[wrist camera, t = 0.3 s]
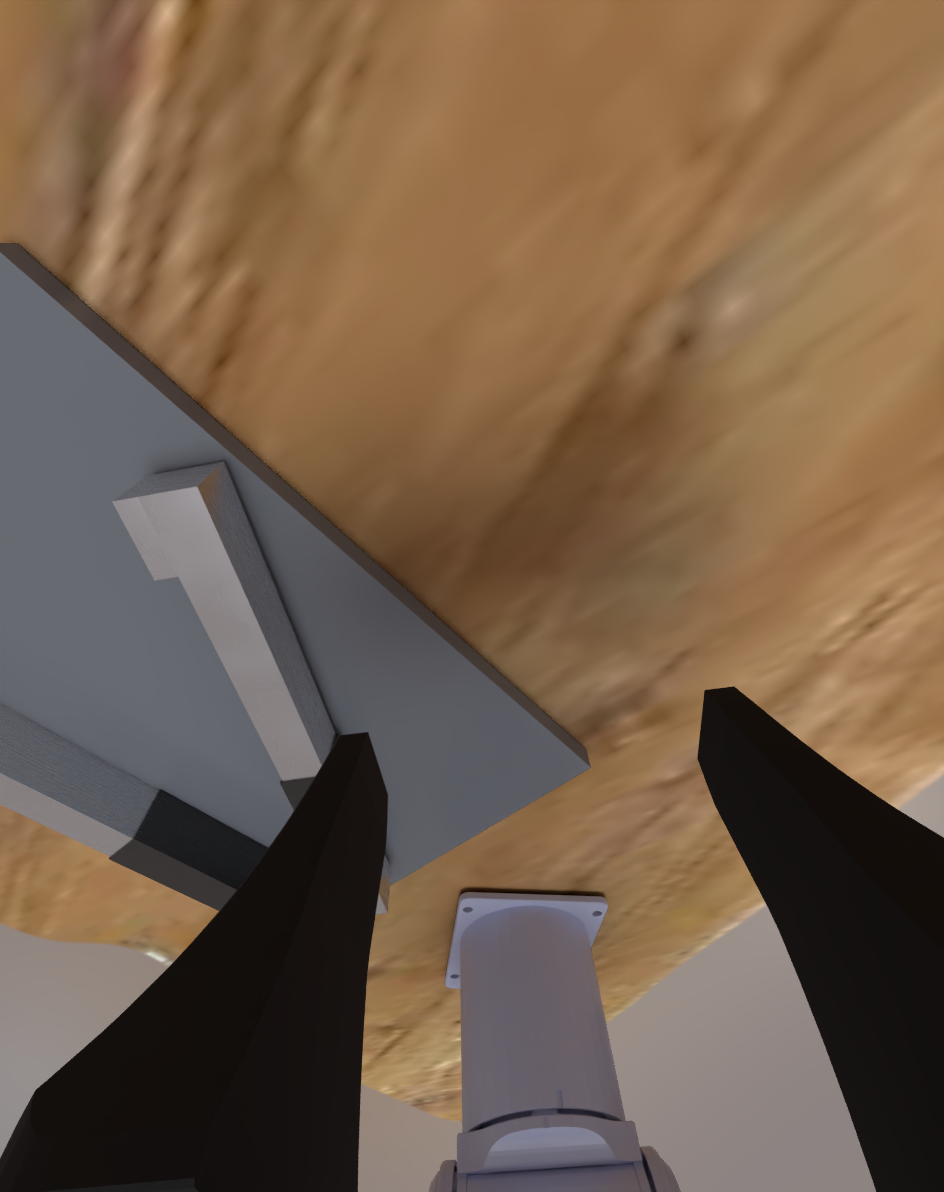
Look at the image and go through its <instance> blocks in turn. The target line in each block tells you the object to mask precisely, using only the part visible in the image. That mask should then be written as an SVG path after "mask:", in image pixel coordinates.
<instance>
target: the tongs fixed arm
mask: <svg viewBox="0 0 944 1192" xmlns="http://www.w3.org/2000/svg"><path fill="white" fill-rule="evenodd" d="M0 805H2V806H5V807H7V808H9V809H11V810H13V811H15V812H17V813H19V814H21V815H24V816H26V817H28V818H30V819H32V820H34V821H36V822H38V823H40V824H43V825H45V826H47V827H49V828H51V829H53V830H55V831H57V832H60V833H62V834H64V835H66V836H68V837H70V838H72V839H74V840H76V841H79V842H81V843H83V844H85V845H87V846H89V847H91V848H93V849H95V850H98V851H100V852H102V853H104V854H106V855H108V856H110V857H109V859H110V860H112V861H114V862H116V863H118V864H120V865H123V866H125V867H127V868H129V869H131V870H133V871H135V872H137V873H140V874H142V875H144V876H146V877H148V878H150V879H152V880H154V881H157V882H159V883H161V884H163V885H165V886H167V887H169V888H171V889H174V890H176V891H178V892H180V893H182V894H184V895H186V896H188V897H191V898H193V899H195V900H197V901H199V902H201V903H203V904H205V905H208V906H210V907H212V908H214V909H216V910H218V911H220V910H221V909H222V908H223V906H224V905H225V904H226V903H227V902H228V900H229V899H230V898H231V897H232V895H233V894H234V893H235V892H236V891H237V889H238V888H239V887H240V885H241V884H242V883H243V882H244V880H245V879H246V878H247V876H248V875H249V874H250V873H251V871H252V870H253V869H254V867H255V866H256V865H257V863H258V862H259V861H260V859H261V858H262V856H263V855H264V853H265V852H266V851H267V849H268V847H266V846H264V845H263V844H261V843H259V842H257V841H255V840H253V839H252V838H250V837H248V836H246V835H244V834H242V833H241V832H239V831H237V830H235V829H233V828H232V827H230V826H228V825H226V824H224V823H222V822H221V821H219V820H217V819H215V818H213V817H211V816H210V815H208V814H206V813H204V812H202V811H201V810H199V809H197V808H195V807H193V806H191V805H190V804H188V803H186V802H184V801H182V800H180V799H179V798H177V797H175V796H173V795H171V794H169V793H168V792H166V791H164V790H162V789H160V790H159V789H157V788H155V787H153V786H151V785H150V784H148V783H146V782H144V781H142V780H140V779H139V778H137V777H135V776H133V775H131V774H129V773H128V772H126V771H124V770H122V769H120V768H118V767H117V766H115V765H113V764H111V763H109V762H108V761H106V760H104V759H102V758H100V757H98V756H97V755H95V754H93V753H91V752H89V751H87V750H86V749H84V748H82V747H80V746H78V745H76V744H75V743H73V742H71V741H69V740H67V739H65V738H64V737H62V736H60V735H58V734H56V733H54V732H53V731H51V730H49V729H47V728H45V727H43V726H42V725H40V724H38V723H36V722H34V721H32V720H31V719H29V718H27V717H25V716H23V715H21V714H20V713H18V712H16V711H14V710H12V709H10V708H9V707H7V706H5V705H3V704H1V703H0Z"/></svg>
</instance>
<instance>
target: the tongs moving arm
mask: <svg viewBox="0 0 944 1192" xmlns="http://www.w3.org/2000/svg"><path fill="white" fill-rule="evenodd" d="M112 503H113V504H114V506H115V508H116V510H117V512H118V514H119V516H120V517H121V519H122V521H123V523H124V525H125V527H126V529H127V530H128V532H129V534H130V536H131V538H132V540H133V542H134V543H135V545H136V547H137V549H138V551H139V553H140V555H141V556H142V558H143V560H144V562H145V564H146V566H147V568H148V570H149V571H150V573H151V575H152V577H153V579H154V581H156V580H162V579H168V578H174V577H179V579H180V581H181V583H182V585H183V587H184V589H185V591H186V593H187V595H188V597H189V599H190V601H191V603H192V604H193V606H194V608H195V610H196V612H197V614H198V616H199V618H200V620H201V622H202V624H203V626H204V628H205V630H206V632H207V634H208V636H209V638H210V640H211V642H212V644H213V646H214V648H215V650H216V652H217V654H218V655H219V657H220V659H221V661H222V663H223V665H224V667H225V669H226V671H227V673H228V675H229V677H230V679H231V681H232V683H233V685H234V687H235V689H236V691H237V693H238V695H239V697H240V699H241V701H242V703H243V705H244V706H245V708H246V710H247V712H248V714H249V716H250V718H251V720H252V722H253V724H254V726H255V728H256V730H257V732H258V734H259V736H260V738H261V740H262V742H263V744H264V746H265V748H266V750H267V752H268V754H269V756H270V757H271V759H272V761H273V763H274V765H275V767H276V769H277V771H278V773H279V775H280V777H281V781H280V785H281V786H282V788H283V790H284V792H285V794H286V796H287V798H288V800H289V802H290V804H291V806H292V808H293V810H295V808H296V807H297V805H298V803H299V802H300V800H301V799H302V797H303V796H304V794H305V793H306V791H307V789H308V788H309V786H310V784H311V783H312V781H313V779H314V778H315V776H316V774H317V773H318V771H319V769H320V768H321V766H322V764H323V763H324V761H325V759H326V757H327V756H328V754H329V752H330V751H331V749H332V747H333V745H334V744H335V742H336V740H337V739H338V738H339V733H337V734H335V731H334V729H333V727H332V724H331V722H330V719H329V717H328V714H327V712H326V709H325V707H324V705H323V702H322V700H321V697H320V695H319V692H318V690H317V688H316V685H315V683H314V680H313V678H312V675H311V673H310V670H309V668H308V666H307V663H306V661H305V658H304V656H303V653H302V651H301V648H300V646H299V644H298V641H297V639H296V636H295V634H294V631H293V629H292V627H291V624H290V622H289V619H288V617H287V614H286V612H285V609H284V607H283V605H282V602H281V600H280V597H279V595H278V592H277V590H276V588H275V585H274V583H273V580H272V578H271V575H270V573H269V570H268V568H267V566H266V563H265V561H264V558H263V556H262V553H261V551H260V548H259V546H258V544H257V541H256V539H255V536H254V534H253V531H252V529H251V527H250V524H249V522H248V519H247V517H246V514H245V512H244V509H243V507H242V505H241V502H240V500H239V497H238V495H237V492H236V490H235V488H234V485H233V483H232V480H231V478H230V475H229V473H228V470H227V468H226V466H225V463H224V462H219V463H214V464H208V465H202V466H197V467H191V468H186V469H180V470H175V471H169V472H164V473H158V474H152V475H147V476H146V477H145V478H143V479H142V480H141V481H139V482H138V483H136V484H135V485H134V486H132V487H131V488H130V489H128V490H127V491H126V492H124V493H123V494H122V495H120V496H119V497H117V498H116V499H115V500H113V501H112ZM391 871H392V870H391V868H390V866H389V863H388V861H387V858H386V856H384V862H383V869H382V876H381V882H380V889H379V895H378V901H377V908H376V914H384V913H388V902H389V892H390V881H391ZM376 914H375V915H376Z"/></svg>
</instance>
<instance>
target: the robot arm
mask: <svg viewBox="0 0 944 1192" xmlns="http://www.w3.org/2000/svg"><path fill="white" fill-rule="evenodd" d="M698 761H699V764H700V767H701V769H702V772H703V775H704V778H705V780H706V783H707V786H708V788H709V791H710V793H711V796H712V799H713V801H714V804H715V806H716V808H717V810H718V812H719V814H720V816H721V818H722V820H723V822H724V824H725V825H726V827H727V829H728V831H729V833H730V835H731V837H732V839H733V841H734V843H735V845H736V847H737V849H738V851H739V853H740V854H741V856H742V858H743V860H744V862H745V864H746V866H747V868H748V870H749V872H750V874H751V876H752V877H753V879H754V881H755V883H756V885H757V887H758V889H759V891H760V893H761V895H762V897H763V899H764V901H765V902H766V904H767V906H768V908H769V910H770V913H771V914H772V917H773V918H774V921H775V923H776V925H777V927H778V929H779V932H780V934H781V936H782V939H783V941H784V944H785V946H786V948H787V951H788V953H789V955H790V958H791V961H792V963H793V966H794V968H795V970H796V973H797V975H798V978H799V980H800V982H801V985H802V988H803V990H804V993H805V995H806V998H807V1001H808V1003H809V1006H810V1008H811V1011H812V1013H813V1016H814V1018H815V1021H816V1024H817V1026H818V1029H819V1031H820V1034H821V1037H822V1039H823V1042H824V1044H825V1047H826V1050H827V1053H828V1055H829V1058H830V1061H831V1064H832V1066H833V1069H834V1072H835V1074H836V1077H837V1080H838V1083H839V1085H840V1088H841V1091H842V1093H843V1096H844V1099H845V1102H846V1104H847V1107H848V1110H849V1113H850V1116H851V1119H852V1121H853V1124H854V1127H855V1130H856V1133H857V1136H858V1139H859V1142H860V1145H861V1148H862V1151H863V1154H864V1156H865V1159H866V1162H867V1165H868V1168H869V1171H870V1174H871V1177H872V1180H873V1183H874V1186H875V1188H876V1192H944V838H943V837H942V836H940V835H938V834H937V833H935V832H933V831H932V830H930V829H928V828H927V827H925V826H924V825H922V824H920V823H919V822H917V821H915V820H914V819H912V818H910V817H909V816H907V815H906V814H904V813H902V812H901V811H899V810H898V809H896V808H894V807H893V806H891V805H890V804H888V803H887V802H885V801H884V800H882V799H881V798H879V797H878V796H876V795H875V794H873V793H872V792H870V791H869V790H868V789H866V788H865V787H863V786H862V785H860V784H859V783H857V782H856V781H855V780H853V779H852V778H850V777H849V776H847V775H846V774H845V773H843V772H842V771H840V770H839V769H838V768H836V767H835V766H834V765H832V764H831V763H830V762H828V761H827V760H826V759H824V758H823V757H822V756H820V755H819V754H818V753H816V752H815V751H814V750H813V749H811V748H810V747H809V746H807V745H806V744H805V743H803V742H802V741H801V740H800V739H798V738H797V737H796V736H794V735H793V734H792V733H791V732H789V731H788V730H787V729H786V728H784V727H783V726H782V725H781V724H780V723H778V722H777V721H776V720H775V719H773V718H772V717H771V716H770V715H768V714H767V713H766V712H765V711H764V710H762V709H761V708H760V707H759V706H757V705H756V704H755V703H754V702H753V701H751V700H750V699H749V698H748V697H746V696H745V695H744V694H743V693H741V692H740V691H739V690H738V689H736V688H735V687H727V688H719V689H711V690H705V692H704V702H703V711H702V721H701V730H700V740H699V749H698ZM387 820H388V793H387V790H386V787H385V783H384V780H383V777H382V774H381V771H380V768H379V765H378V761H377V758H376V755H375V752H374V749H373V746H372V743H371V739H370V736H369V733H368V732H363V733H355V734H347V735H340V736H339V738H338V739H337V740H336V742H335V744H334V745H333V747H332V749H331V751H330V752H329V754H328V756H327V757H326V759H325V761H324V763H323V764H322V766H321V768H320V769H319V771H318V773H317V774H316V776H315V778H314V779H313V781H312V783H311V784H310V786H309V788H308V789H307V791H306V793H305V794H304V796H303V797H302V799H301V800H300V802H299V803H298V805H297V807H296V808H295V810H294V811H293V813H292V814H291V816H290V817H289V819H288V821H287V822H286V824H285V825H284V827H283V828H282V829H281V831H280V832H279V834H278V835H277V837H276V838H275V839H274V841H273V842H272V844H271V845H270V846H269V848H268V849H267V851H266V852H265V853H264V855H263V856H262V858H261V859H260V861H259V862H258V863H257V865H256V866H255V867H254V869H253V870H252V871H251V873H250V874H249V875H248V876H247V878H246V879H245V880H244V882H243V883H242V884H241V885H240V887H239V888H238V889H237V891H236V892H235V893H234V894H233V895H232V897H231V898H230V899H229V900H228V902H227V903H226V904H225V905H224V906H223V908H222V909H221V910H220V911H219V912H218V914H217V915H216V916H215V917H214V918H213V919H212V920H211V921H210V923H209V924H208V925H207V926H206V927H205V928H204V929H203V931H202V932H201V933H200V934H199V935H198V936H197V937H196V938H195V940H194V941H193V942H192V943H191V944H190V945H189V946H188V947H187V948H186V950H185V951H184V952H183V953H182V954H181V955H180V956H179V957H178V958H177V959H176V960H175V961H174V962H173V963H172V964H171V966H170V967H169V968H168V969H167V970H166V971H165V972H164V973H163V974H162V975H161V976H160V977H159V978H158V979H157V980H156V981H154V983H152V984H151V985H150V987H149V988H147V989H146V991H144V993H142V994H141V995H140V997H138V998H137V999H136V1000H135V1001H134V1002H133V1003H132V1004H131V1006H129V1007H128V1008H127V1009H126V1010H125V1011H124V1012H123V1013H122V1014H121V1015H120V1016H119V1017H118V1018H117V1019H116V1020H115V1021H114V1022H113V1023H111V1025H109V1026H108V1027H107V1028H106V1029H105V1030H104V1031H103V1032H102V1033H101V1034H99V1035H98V1036H97V1037H96V1038H95V1039H94V1040H93V1041H92V1042H90V1043H89V1044H88V1045H87V1046H86V1047H85V1048H84V1049H82V1050H81V1051H80V1052H79V1053H78V1054H77V1055H76V1056H74V1057H73V1058H72V1059H71V1060H70V1061H69V1062H68V1063H66V1064H65V1065H64V1066H63V1067H62V1068H61V1069H60V1070H59V1071H57V1072H56V1073H55V1074H54V1075H53V1076H52V1077H51V1078H49V1079H48V1080H47V1081H46V1082H45V1083H43V1084H42V1085H41V1086H40V1087H39V1088H37V1089H36V1091H35V1092H34V1094H33V1096H32V1098H31V1099H30V1101H29V1103H28V1105H27V1107H26V1109H25V1111H24V1112H23V1114H22V1116H21V1118H20V1120H19V1122H18V1124H17V1125H16V1127H15V1129H14V1131H13V1134H12V1136H11V1138H10V1140H9V1142H8V1144H7V1146H6V1148H5V1150H4V1152H3V1154H2V1156H1V1158H0V1192H358V1149H359V1120H360V1092H361V1070H362V1051H363V1031H364V1015H365V999H366V984H367V971H368V963H369V954H370V947H371V940H372V934H373V927H374V921H375V914H376V908H377V901H378V895H379V889H380V882H381V876H382V869H383V862H384V856H385V849H386V841H387ZM607 909H608V903H607V900H606V899H605V898H604V897H600V896H572V895H542V894H512V893H482V892H466V893H463V894H462V895H460V897H459V901H458V907H457V913H456V918H455V924H454V930H453V936H452V941H451V947H450V953H449V958H448V964H447V970H446V975H445V985H446V986H447V987H448V988H453V989H460V991H461V1062H462V1125H463V1126H462V1127H463V1129H462V1131H463V1132H462V1133H458V1135H457V1161H456V1160H446V1161H443V1163H442V1164H441V1167H440V1171H438V1173H437V1174H436V1176H435V1177H434V1179H433V1180H432V1182H431V1185H430V1188H429V1192H681V1191H680V1189H679V1186H678V1183H677V1181H676V1178H675V1176H674V1174H673V1172H672V1170H671V1169H670V1167H669V1166H668V1165H667V1164H666V1163H665V1162H664V1160H663V1159H661V1158H660V1156H659V1155H658V1153H657V1152H656V1150H655V1149H654V1148H653V1147H651V1146H645V1147H640V1146H639V1142H638V1137H637V1132H636V1127H635V1123H634V1122H633V1121H626V1120H625V1115H624V1110H623V1105H622V1100H621V1095H620V1090H619V1085H618V1080H617V1076H616V1071H615V1065H614V1060H613V1055H612V1051H611V1046H610V1041H609V1036H608V1031H607V1026H606V1021H605V1016H604V1011H603V1006H602V1001H601V996H600V991H599V986H598V981H597V976H596V971H595V966H594V962H593V957H592V952H591V947H592V945H593V942H594V940H595V938H596V935H597V933H598V931H599V928H600V926H601V923H602V921H603V919H604V916H605V914H606V911H607Z"/></svg>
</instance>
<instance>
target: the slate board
mask: <svg viewBox="0 0 944 1192" xmlns="http://www.w3.org/2000/svg"><path fill="white" fill-rule="evenodd" d="M219 462H224V463H225V466H226V468H227V470H228V473H229V475H230V478H231V480H232V483H233V485H234V488H235V490H236V492H237V495H238V497H239V500H240V502H241V505H242V507H243V509H244V512H245V514H246V517H247V519H248V522H249V524H250V527H251V529H252V531H253V534H254V536H255V539H256V541H257V544H258V546H259V548H260V551H261V553H262V556H263V558H264V561H265V563H266V566H267V568H268V570H269V573H270V575H271V578H272V580H273V583H274V585H275V588H276V590H277V592H278V595H279V597H280V600H281V602H282V605H283V607H284V609H285V612H286V614H287V617H288V619H289V622H290V624H291V627H292V629H293V631H294V634H295V636H296V639H297V641H298V644H299V646H300V648H301V651H302V653H303V656H304V658H305V661H306V663H307V666H308V668H309V670H310V673H311V675H312V678H313V680H314V683H315V685H316V688H317V690H318V692H319V695H320V697H321V700H322V702H323V705H324V707H325V709H326V712H327V714H328V717H329V719H330V722H331V724H332V727H333V729H334V731H335V734H337V733H339V736H340V735H347V734H355V733H363V732H368V733H369V736H370V739H371V743H372V746H373V749H374V752H375V755H376V758H377V761H378V765H379V768H380V771H381V774H382V777H383V780H384V783H385V787H386V790H387V793H388V820H387V841H386V849H385V856H386V858H387V861H388V863H389V866H390V868H391V870H392V871H391V881H390V885H392V884H394V883H395V882H397V881H399V880H400V879H402V878H404V877H406V876H407V875H409V874H411V873H412V872H414V871H416V870H417V869H419V868H421V867H423V866H424V865H426V864H428V863H429V862H431V861H433V860H434V859H436V858H438V857H440V856H441V855H443V854H445V853H446V852H448V851H450V850H451V849H453V848H455V847H457V846H458V845H460V844H462V843H463V842H465V841H467V840H469V839H470V838H472V837H474V836H475V835H477V834H479V833H480V832H482V831H484V830H486V829H487V828H489V827H491V826H492V825H494V824H496V823H497V822H499V821H501V820H503V819H504V818H506V817H508V816H509V815H511V814H513V813H514V812H516V811H518V810H520V809H521V808H523V807H525V806H526V805H528V804H530V803H531V802H533V801H535V800H537V799H538V798H540V797H542V796H543V795H545V794H547V793H548V792H550V791H552V790H554V789H555V788H557V787H559V786H560V785H562V784H564V783H565V782H567V781H569V780H571V779H572V778H574V777H576V776H577V775H579V774H581V773H583V772H584V771H586V770H588V769H589V768H591V765H590V762H589V758H588V754H587V751H586V749H585V748H584V747H583V746H582V745H581V744H579V743H578V742H577V741H576V740H575V739H574V738H573V737H572V736H570V735H569V734H568V733H567V732H566V731H565V730H564V729H563V728H561V727H560V726H559V725H558V724H557V723H556V722H555V721H554V720H552V719H551V718H550V717H549V716H548V715H547V714H546V713H545V712H543V711H542V710H541V709H540V708H539V707H538V706H537V705H536V704H534V703H533V702H532V701H531V700H530V699H529V698H528V697H527V696H525V695H524V694H523V693H522V692H521V691H520V690H519V689H518V688H516V687H515V686H514V685H513V684H512V683H511V682H510V681H509V680H507V679H506V678H505V677H504V676H503V675H502V674H501V673H500V672H498V671H497V670H496V669H495V668H494V667H493V666H492V665H491V664H489V663H488V662H487V661H486V660H485V659H484V658H483V657H482V656H480V655H479V654H478V653H477V652H476V651H475V650H474V649H473V648H471V647H470V646H469V645H468V644H467V643H466V642H465V641H464V640H462V639H461V638H460V637H459V636H458V635H457V634H456V633H455V632H453V631H452V630H451V629H450V628H449V627H448V626H447V625H446V624H444V623H443V622H442V621H441V620H440V619H439V618H438V617H437V616H435V615H434V614H433V613H432V612H431V611H430V610H429V609H428V608H426V607H425V606H424V605H423V604H422V603H421V602H420V601H419V600H417V599H416V598H415V597H414V596H413V595H412V594H411V593H410V592H408V591H407V590H406V589H405V588H404V587H403V586H402V585H401V584H399V583H398V582H397V581H396V580H395V579H394V578H393V577H392V576H390V575H389V574H388V573H387V572H386V571H385V570H384V569H383V568H381V567H380V566H379V565H378V564H377V563H376V562H375V561H374V560H372V559H371V558H370V557H369V556H368V555H367V554H366V553H365V552H363V551H362V550H361V549H360V548H359V547H358V546H357V545H356V544H354V543H353V542H352V541H351V540H350V539H349V538H348V537H347V536H345V535H344V534H343V533H342V532H341V531H340V530H339V529H338V528H336V527H335V526H334V525H333V524H332V523H331V522H330V521H329V520H327V519H326V518H325V517H324V516H323V515H322V514H321V513H320V512H318V511H317V510H316V509H315V508H314V507H313V506H312V505H311V504H309V503H308V502H307V501H306V500H305V499H304V498H303V497H302V496H300V495H299V494H298V493H297V492H296V491H295V490H294V489H293V488H291V487H290V486H289V485H288V484H287V483H286V482H285V481H284V480H282V479H281V478H280V477H279V476H278V475H277V474H276V473H275V472H273V471H272V470H271V469H270V468H269V467H268V466H267V465H266V464H264V463H263V462H262V461H261V460H260V459H259V458H258V457H257V456H255V455H254V454H253V453H252V452H251V451H250V450H249V449H248V448H246V447H245V446H244V445H243V444H242V443H241V442H240V441H239V440H237V439H236V438H235V437H234V436H233V435H232V434H231V433H230V432H228V431H227V430H226V429H225V428H224V427H223V426H222V425H221V424H219V423H218V422H217V421H216V420H215V419H214V418H213V417H212V416H210V415H209V414H208V413H207V412H206V411H205V410H204V409H203V408H201V407H200V406H199V405H198V404H197V403H196V402H195V401H194V400H193V399H191V398H190V397H189V396H188V395H187V394H186V393H185V392H184V391H182V390H181V389H180V388H179V387H178V386H177V385H176V384H175V383H173V382H172V381H171V380H170V379H169V378H168V377H167V376H166V375H164V374H163V373H162V372H161V371H160V370H159V369H158V368H157V367H155V366H154V365H153V364H152V363H151V362H150V361H149V360H148V359H146V358H145V357H144V356H143V355H142V354H141V353H140V352H139V351H137V350H136V349H135V348H134V347H133V346H132V345H131V344H130V343H128V342H127V341H126V340H125V339H124V338H123V337H122V336H121V335H119V334H118V333H117V332H116V331H115V330H114V329H113V328H112V327H110V326H109V325H108V324H107V323H106V322H105V321H104V320H103V319H101V318H100V317H99V316H98V315H97V314H96V313H95V312H94V311H92V310H91V309H90V308H89V307H88V306H87V305H86V304H85V303H83V302H82V301H81V300H80V299H79V298H78V297H77V296H76V295H74V294H73V293H72V292H71V291H70V290H69V289H68V288H67V287H65V286H64V285H63V284H62V283H61V282H60V281H59V280H58V279H56V278H55V277H54V276H53V275H52V274H51V273H50V272H49V271H47V270H46V269H45V268H44V267H43V266H42V265H41V264H40V263H38V262H37V261H36V260H35V259H34V258H33V257H32V256H31V255H29V254H28V253H27V252H26V251H25V250H24V249H23V248H22V247H20V246H19V245H18V244H15V243H0V703H1V704H3V705H5V706H7V707H9V708H10V709H12V710H14V711H16V712H18V713H20V714H21V715H23V716H25V717H27V718H29V719H31V720H32V721H34V722H36V723H38V724H40V725H42V726H43V727H45V728H47V729H49V730H51V731H53V732H54V733H56V734H58V735H60V736H62V737H64V738H65V739H67V740H69V741H71V742H73V743H75V744H76V745H78V746H80V747H82V748H84V749H86V750H87V751H89V752H91V753H93V754H95V755H97V756H98V757H100V758H102V759H104V760H106V761H108V762H109V763H111V764H113V765H115V766H117V767H118V768H120V769H122V770H124V771H126V772H128V773H129V774H131V775H133V776H135V777H137V778H139V779H140V780H142V781H144V782H146V783H148V784H150V785H151V786H153V787H155V788H157V789H159V790H160V789H162V790H164V791H166V792H168V793H169V794H171V795H173V796H175V797H177V798H179V799H180V800H182V801H184V802H186V803H188V804H190V805H191V806H193V807H195V808H197V809H199V810H201V811H202V812H204V813H206V814H208V815H210V816H211V817H213V818H215V819H217V820H219V821H221V822H222V823H224V824H226V825H228V826H230V827H232V828H233V829H235V830H237V831H239V832H241V833H242V834H244V835H246V836H248V837H250V838H252V839H253V840H255V841H257V842H259V843H261V844H263V845H264V846H266V847H268V848H269V846H270V845H271V844H272V842H273V841H274V839H275V838H276V837H277V835H278V834H279V832H280V831H281V829H282V828H283V827H284V825H285V824H286V822H287V821H288V819H289V817H290V816H291V814H292V813H293V811H294V810H293V808H292V806H291V804H290V802H289V800H288V798H287V796H286V794H285V792H284V790H283V788H282V786H281V785H280V781H281V777H280V775H279V773H278V771H277V769H276V767H275V765H274V763H273V761H272V759H271V757H270V756H269V754H268V752H267V750H266V748H265V746H264V744H263V742H262V740H261V738H260V736H259V734H258V732H257V730H256V728H255V726H254V724H253V722H252V720H251V718H250V716H249V714H248V712H247V710H246V708H245V706H244V705H243V703H242V701H241V699H240V697H239V695H238V693H237V691H236V689H235V687H234V685H233V683H232V681H231V679H230V677H229V675H228V673H227V671H226V669H225V667H224V665H223V663H222V661H221V659H220V657H219V655H218V654H217V652H216V650H215V648H214V646H213V644H212V642H211V640H210V638H209V636H208V634H207V632H206V630H205V628H204V626H203V624H202V622H201V620H200V618H199V616H198V614H197V612H196V610H195V608H194V606H193V604H192V603H191V601H190V599H189V597H188V595H187V593H186V591H185V589H184V587H183V585H182V583H181V581H180V579H179V577H174V578H168V579H162V580H156V581H154V579H153V577H152V575H151V573H150V571H149V570H148V568H147V566H146V564H145V562H144V560H143V558H142V556H141V555H140V553H139V551H138V549H137V547H136V545H135V543H134V542H133V540H132V538H131V536H130V534H129V532H128V530H127V529H126V527H125V525H124V523H123V521H122V519H121V517H120V516H119V514H118V512H117V510H116V508H115V506H114V504H113V503H112V501H113V500H115V499H116V498H117V497H119V496H120V495H122V494H123V493H124V492H126V491H127V490H128V489H130V488H131V487H132V486H134V485H135V484H136V483H138V482H139V481H141V480H142V479H143V478H145V477H146V476H147V475H152V474H158V473H164V472H169V471H175V470H180V469H186V468H191V467H197V466H202V465H208V464H214V463H219Z"/></svg>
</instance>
